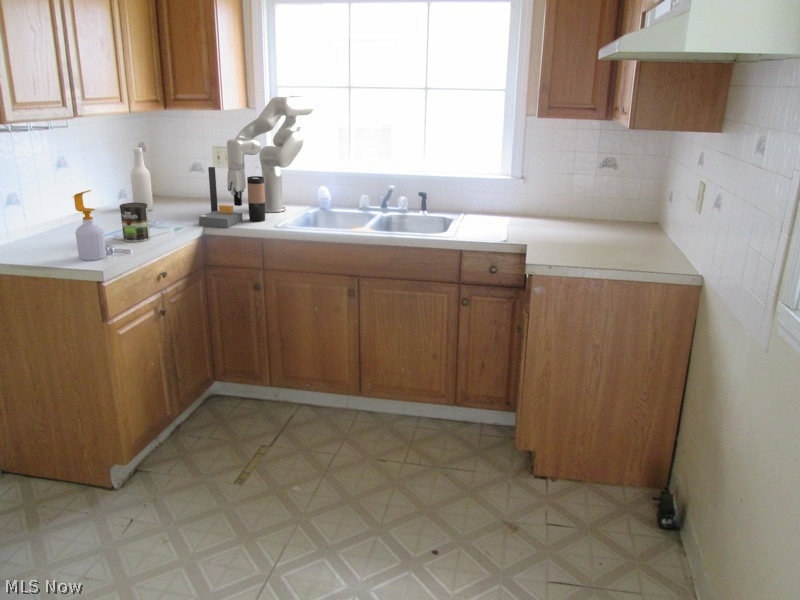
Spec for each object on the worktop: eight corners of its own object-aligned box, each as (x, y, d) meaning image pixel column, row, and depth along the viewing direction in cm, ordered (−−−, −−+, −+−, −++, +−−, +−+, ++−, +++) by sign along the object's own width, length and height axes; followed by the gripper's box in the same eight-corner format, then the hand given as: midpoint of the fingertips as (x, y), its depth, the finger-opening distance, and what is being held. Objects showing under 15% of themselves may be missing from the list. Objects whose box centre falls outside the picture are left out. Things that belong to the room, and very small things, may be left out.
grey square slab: (215, 219, 300) (214, 210, 299) (242, 221, 297) (242, 212, 296) (199, 225, 288) (198, 216, 286) (227, 227, 285) (227, 218, 283)
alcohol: (147, 212, 310) (141, 149, 301) (130, 211, 312) (123, 148, 302) (157, 208, 319) (150, 147, 309) (140, 207, 320) (133, 146, 310)
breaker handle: (221, 211, 297) (221, 204, 296) (233, 212, 296) (232, 205, 295) (219, 212, 295) (218, 205, 294) (231, 213, 294) (230, 206, 293)
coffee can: (142, 243, 256) (138, 208, 251) (118, 241, 257) (114, 206, 252) (155, 237, 266) (152, 203, 261) (132, 235, 267) (128, 201, 262)
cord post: (211, 214, 310) (208, 165, 303) (226, 215, 308) (223, 166, 301) (203, 217, 303) (199, 167, 295) (218, 218, 301) (215, 169, 294)
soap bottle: (96, 261, 229) (87, 193, 221) (73, 259, 231) (63, 191, 223) (111, 255, 238) (103, 189, 230) (89, 253, 239) (80, 187, 231)
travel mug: (267, 219, 304) (266, 176, 298) (262, 222, 297) (261, 178, 290) (252, 218, 305) (250, 175, 298) (246, 221, 298) (244, 178, 291)
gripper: (236, 164, 308) (238, 202, 314) (221, 167, 294) (223, 207, 300) (250, 165, 306) (252, 203, 312) (236, 169, 293) (238, 208, 299)
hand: (238, 205), depth 306 cm, fingers closed
